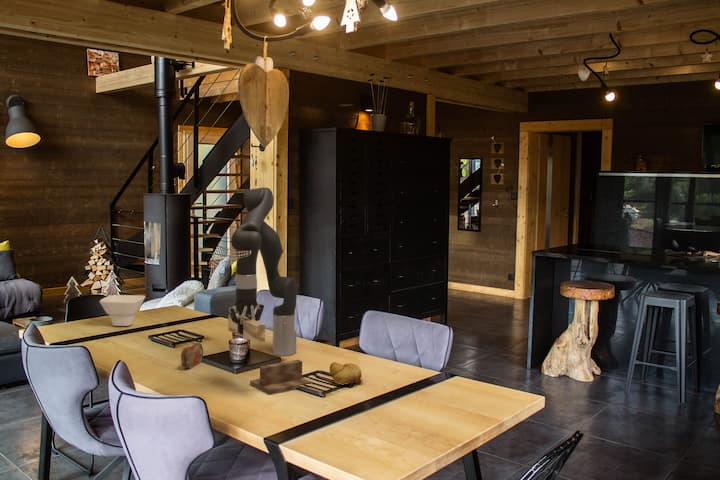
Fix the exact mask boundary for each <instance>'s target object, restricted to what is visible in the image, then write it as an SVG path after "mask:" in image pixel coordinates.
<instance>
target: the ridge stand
mask: <svg viewBox="0 0 720 480" xmlns="http://www.w3.org/2000/svg"><path fill="white" fill-rule="evenodd" d="M311 383H313V381H311V380H310V379H307V378H304V377H303V361H302V360H300V359H294V360H289V361H282V362H278V363H272V364H264V365H260V366H259V378H257V379H256V378H255V379H251V380H249V385H250V386H252V387H253V388H256V389H257V390H260V391H261V392H263V393H265V394H267V395H275V394H276V395H277V394H279V393H285V392H290V391H294V390H295V391H296V390H297V389H296V388H297V387H298V386H300V385H306V384H311Z"/></svg>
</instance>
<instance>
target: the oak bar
mask: <svg viewBox="0 0 720 480" xmlns="http://www.w3.org/2000/svg"><path fill="white" fill-rule="evenodd" d="M236 316H237V319H238V313H236ZM227 323H228V326H227V328H228V329H227V330H228V331H229V332H231V333H233V334H236V335H238V336H240V337H242V338H244V339H247V340H249V341H251V342H253V343H263V342H266V324H264V323H262V322H260V321H255V320H252V319H249V317H247V316H245V318H244V320H243V335H241V334H239V333H238V324H237V323H234V322H233V321H232V319H231V316H230V313H229V314H228V320H227Z"/></svg>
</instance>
